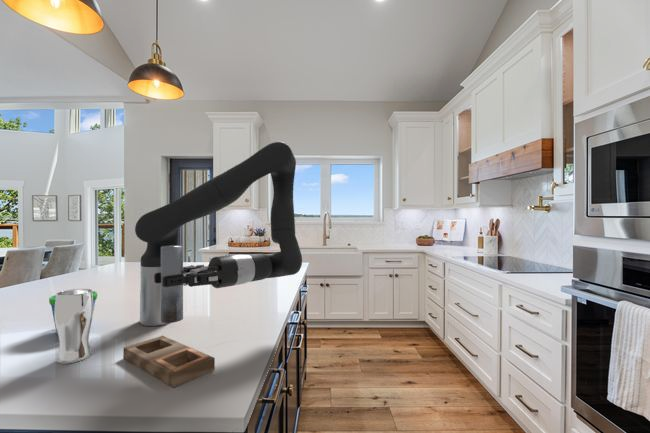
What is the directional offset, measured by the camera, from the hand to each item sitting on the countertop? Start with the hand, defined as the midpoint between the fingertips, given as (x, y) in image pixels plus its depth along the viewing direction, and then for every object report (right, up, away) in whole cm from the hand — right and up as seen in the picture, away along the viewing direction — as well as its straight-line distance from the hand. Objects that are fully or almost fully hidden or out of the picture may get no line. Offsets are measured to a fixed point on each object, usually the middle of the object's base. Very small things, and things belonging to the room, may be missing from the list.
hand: (159, 280), depth 69 cm
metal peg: (+2, -9, +2) cm, 9 cm away
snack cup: (-34, -19, +21) cm, 45 cm away
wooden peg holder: (+1, -19, +2) cm, 19 cm away
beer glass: (-22, -19, +5) cm, 29 cm away
